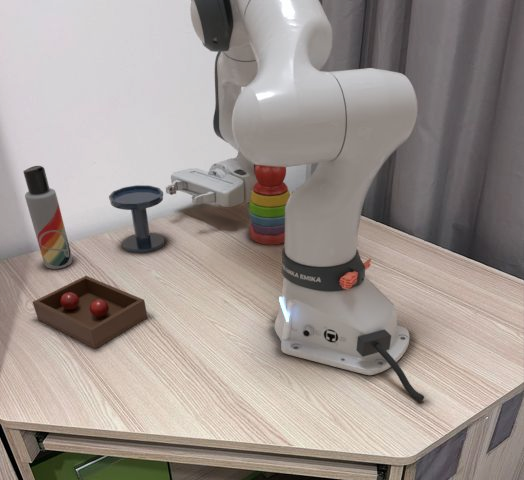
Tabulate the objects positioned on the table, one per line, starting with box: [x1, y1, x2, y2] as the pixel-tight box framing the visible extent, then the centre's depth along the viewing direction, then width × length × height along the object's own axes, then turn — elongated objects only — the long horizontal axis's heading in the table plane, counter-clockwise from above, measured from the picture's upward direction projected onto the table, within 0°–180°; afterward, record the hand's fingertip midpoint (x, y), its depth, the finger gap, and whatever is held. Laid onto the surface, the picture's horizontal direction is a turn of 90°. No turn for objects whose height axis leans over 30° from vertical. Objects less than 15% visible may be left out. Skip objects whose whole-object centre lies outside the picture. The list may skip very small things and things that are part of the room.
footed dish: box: [108, 184, 165, 254], centre depth 116 cm, size 11×11×11 cm
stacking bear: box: [248, 165, 291, 245], centre depth 117 cm, size 11×10×18 cm
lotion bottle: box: [22, 165, 73, 270], centre depth 107 cm, size 6×6×20 cm
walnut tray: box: [32, 275, 148, 349], centre depth 94 cm, size 16×12×4 cm
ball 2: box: [90, 299, 109, 318], centre depth 94 cm, size 3×3×3 cm
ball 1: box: [60, 292, 79, 310], centre depth 96 cm, size 3×3×3 cm
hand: (180, 195), depth 122 cm, fingers open, 8 cm apart
